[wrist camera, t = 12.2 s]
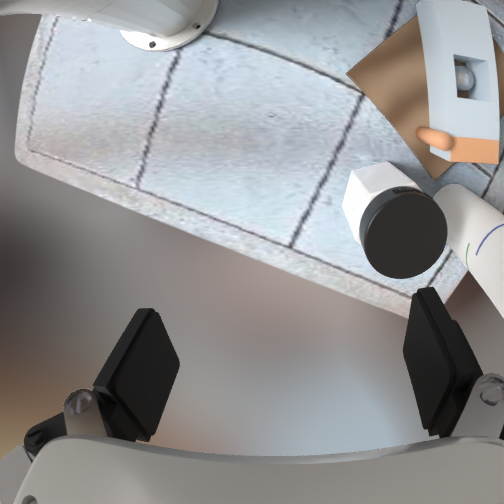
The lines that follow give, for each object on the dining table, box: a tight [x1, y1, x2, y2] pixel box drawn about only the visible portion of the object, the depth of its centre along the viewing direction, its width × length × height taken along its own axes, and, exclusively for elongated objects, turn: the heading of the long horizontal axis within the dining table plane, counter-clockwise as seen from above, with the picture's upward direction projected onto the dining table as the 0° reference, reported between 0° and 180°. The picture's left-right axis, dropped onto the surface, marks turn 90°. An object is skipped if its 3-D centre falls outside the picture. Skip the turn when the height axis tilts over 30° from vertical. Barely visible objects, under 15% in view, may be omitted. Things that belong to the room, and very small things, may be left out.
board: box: [346, 0, 504, 180], centre depth 26 cm, size 16×20×1 cm
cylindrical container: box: [433, 184, 504, 318], centre depth 23 cm, size 7×7×25 cm
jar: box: [342, 161, 448, 279], centre depth 30 cm, size 9×8×12 cm
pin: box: [416, 126, 453, 151], centre depth 27 cm, size 2×2×6 cm
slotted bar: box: [415, 0, 500, 164], centre depth 23 cm, size 18×7×5 cm, turn 8°
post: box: [455, 66, 474, 90], centre depth 24 cm, size 3×3×3 cm
